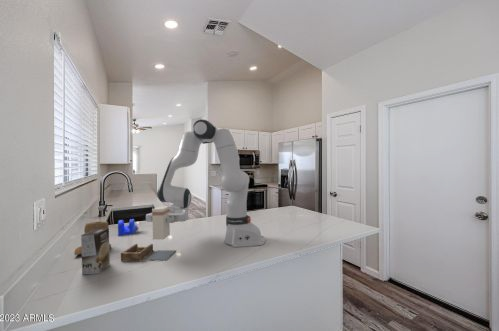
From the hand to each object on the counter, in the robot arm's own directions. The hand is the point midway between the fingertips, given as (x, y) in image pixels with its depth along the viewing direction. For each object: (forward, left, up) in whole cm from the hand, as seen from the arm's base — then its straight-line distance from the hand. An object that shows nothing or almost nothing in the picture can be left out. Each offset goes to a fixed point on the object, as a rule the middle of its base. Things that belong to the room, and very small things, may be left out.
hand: (160, 220), depth 108 cm
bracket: (+41, -40, -17) cm, 60 cm away
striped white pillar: (0, -1, -8) cm, 8 cm away
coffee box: (+22, +13, -17) cm, 31 cm away
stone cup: (+39, -7, -17) cm, 43 cm away
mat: (0, -1, -17) cm, 17 cm away
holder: (+12, -1, -17) cm, 21 cm away
